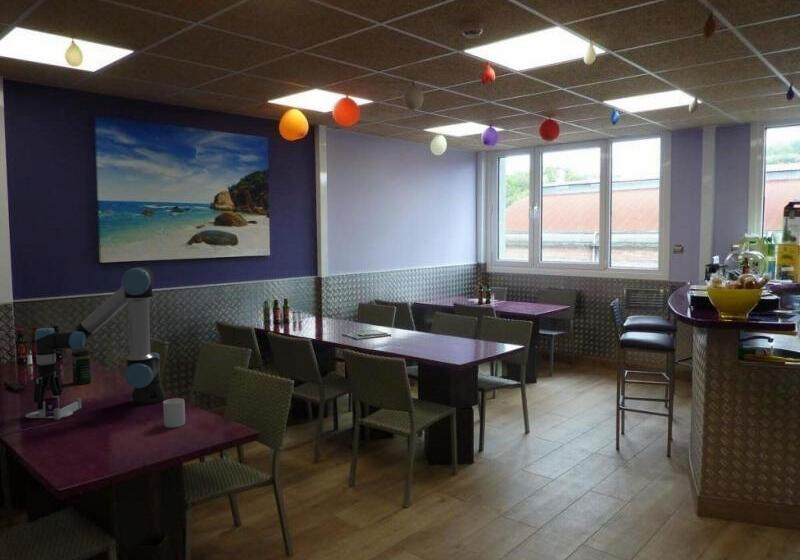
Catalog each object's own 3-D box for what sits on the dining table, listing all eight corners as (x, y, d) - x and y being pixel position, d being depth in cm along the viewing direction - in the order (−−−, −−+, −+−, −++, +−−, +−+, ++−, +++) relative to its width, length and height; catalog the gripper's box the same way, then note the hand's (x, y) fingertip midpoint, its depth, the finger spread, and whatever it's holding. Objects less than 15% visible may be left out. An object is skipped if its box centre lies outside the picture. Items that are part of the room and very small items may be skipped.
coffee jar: (93, 383, 321) (91, 349, 319) (77, 385, 315) (75, 351, 314) (86, 380, 327) (85, 346, 326) (71, 382, 322) (69, 348, 320)
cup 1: (41, 417, 259) (41, 402, 259) (41, 412, 268) (40, 397, 267) (59, 415, 263) (58, 400, 262) (58, 409, 271) (57, 394, 271)
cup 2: (167, 429, 244) (166, 404, 243) (159, 421, 253) (158, 398, 253) (187, 425, 249) (186, 401, 248) (179, 418, 258) (178, 395, 257)
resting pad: (77, 411, 269) (77, 411, 269) (65, 418, 260) (65, 417, 260) (34, 411, 270) (34, 410, 270) (20, 417, 261) (20, 417, 261)
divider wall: (81, 407, 275) (81, 398, 275) (58, 419, 258) (57, 409, 257) (78, 407, 275) (77, 398, 275) (54, 419, 258) (53, 409, 257)
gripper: (53, 358, 274) (56, 406, 276) (21, 368, 252) (24, 420, 254) (69, 358, 273) (71, 406, 275) (38, 368, 252) (41, 420, 254)
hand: (49, 413), depth 265 cm, fingers open, 9 cm apart
